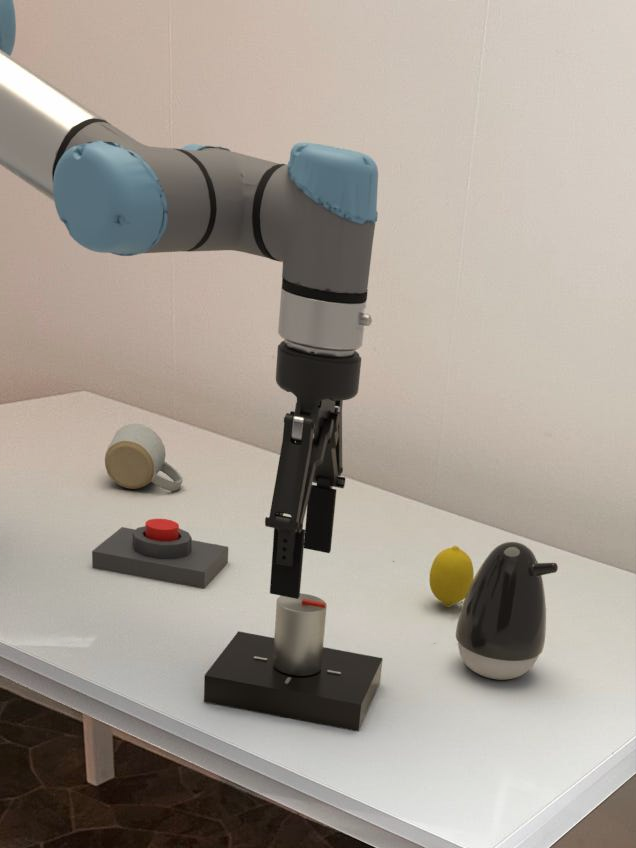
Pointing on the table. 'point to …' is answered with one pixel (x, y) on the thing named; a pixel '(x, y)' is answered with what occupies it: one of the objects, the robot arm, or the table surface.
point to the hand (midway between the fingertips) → (301, 571)
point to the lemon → (451, 575)
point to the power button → (162, 530)
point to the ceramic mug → (139, 459)
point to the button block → (161, 557)
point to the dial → (299, 635)
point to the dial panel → (293, 683)
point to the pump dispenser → (504, 613)
